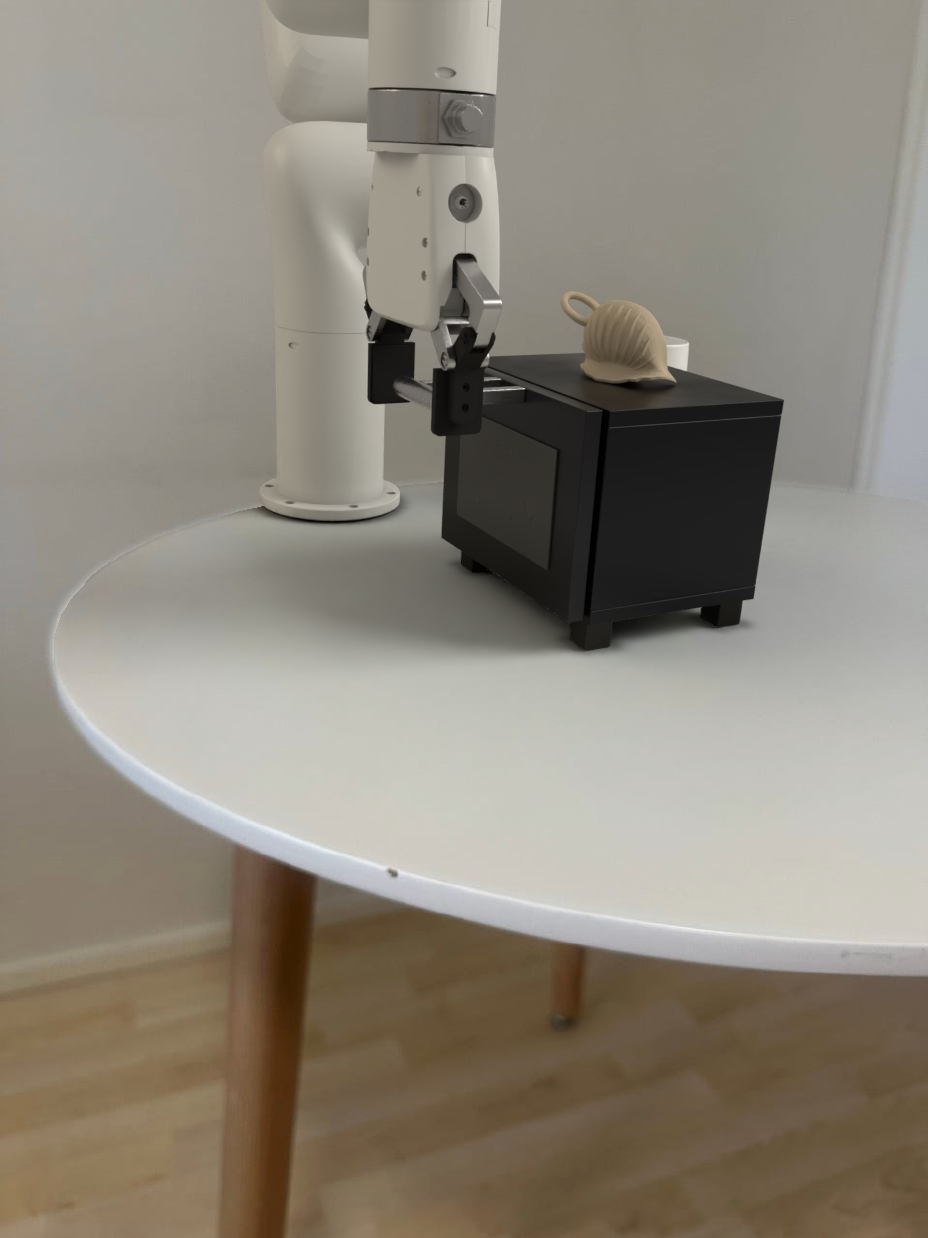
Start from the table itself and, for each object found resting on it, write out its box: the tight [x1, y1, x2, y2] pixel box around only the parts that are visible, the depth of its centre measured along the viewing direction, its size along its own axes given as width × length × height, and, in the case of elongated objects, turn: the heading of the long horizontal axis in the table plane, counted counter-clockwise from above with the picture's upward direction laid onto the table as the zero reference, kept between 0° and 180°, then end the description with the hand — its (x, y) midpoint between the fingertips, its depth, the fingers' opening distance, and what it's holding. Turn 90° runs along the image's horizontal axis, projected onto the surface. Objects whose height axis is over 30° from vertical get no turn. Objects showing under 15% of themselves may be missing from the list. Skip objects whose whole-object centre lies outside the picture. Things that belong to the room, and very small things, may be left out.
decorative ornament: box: [560, 291, 676, 383], centre depth 79 cm, size 4×8×5 cm, turn 44°
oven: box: [460, 352, 785, 651], centre depth 83 cm, size 14×19×16 cm
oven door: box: [393, 367, 603, 624], centre depth 78 cm, size 8×18×14 cm, turn 27°
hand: (421, 417), depth 74 cm, fingers open, 9 cm apart
